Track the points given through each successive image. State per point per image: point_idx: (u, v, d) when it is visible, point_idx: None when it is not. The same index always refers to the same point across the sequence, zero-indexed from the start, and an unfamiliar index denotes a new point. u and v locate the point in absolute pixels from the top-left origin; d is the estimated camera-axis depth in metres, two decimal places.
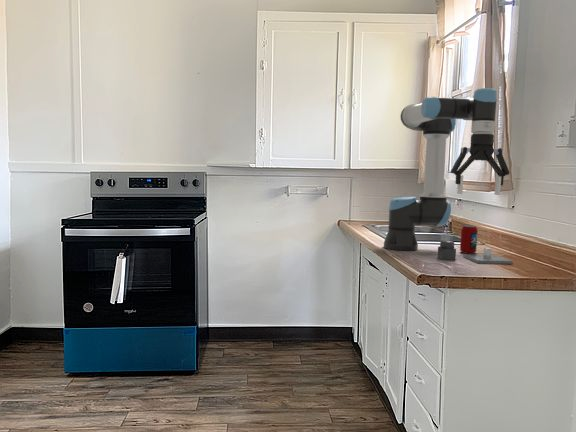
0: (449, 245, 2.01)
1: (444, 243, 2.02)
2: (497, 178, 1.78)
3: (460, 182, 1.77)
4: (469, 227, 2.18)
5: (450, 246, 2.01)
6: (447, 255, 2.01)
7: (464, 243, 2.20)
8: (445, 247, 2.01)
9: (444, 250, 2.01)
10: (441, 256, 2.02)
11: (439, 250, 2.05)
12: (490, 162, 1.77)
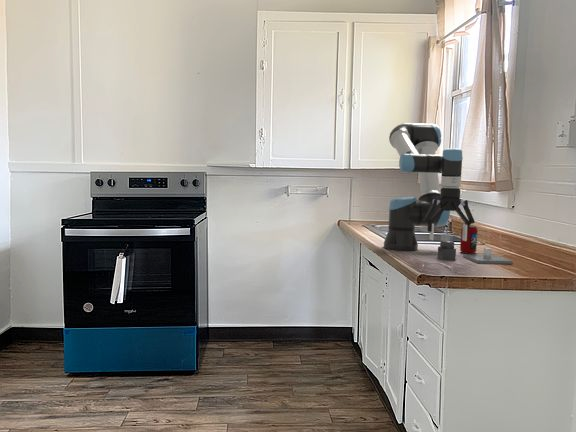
0: (449, 245, 2.01)
1: (444, 243, 2.02)
2: (464, 226, 2.03)
3: (431, 230, 2.01)
4: None
5: (450, 246, 2.01)
6: (447, 255, 2.01)
7: (464, 243, 2.20)
8: (445, 247, 2.01)
9: (444, 250, 2.01)
10: (441, 256, 2.02)
11: (439, 250, 2.05)
12: (457, 212, 2.02)
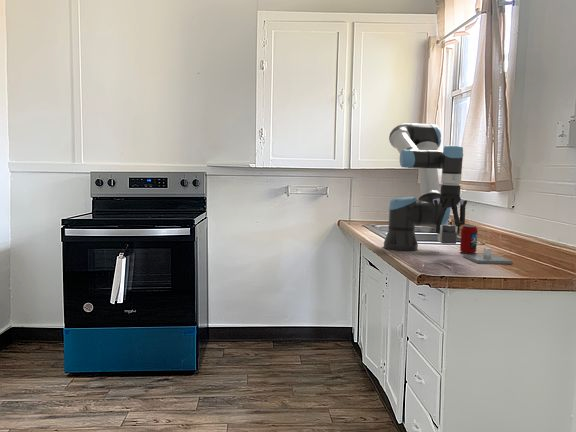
0: (450, 229, 2.01)
1: (445, 227, 2.01)
2: None
3: (440, 232, 2.03)
4: (469, 227, 2.18)
5: (451, 230, 2.01)
6: (447, 239, 2.01)
7: (464, 243, 2.20)
8: (446, 231, 2.01)
9: (445, 234, 2.01)
10: (442, 240, 2.02)
11: None
12: (453, 210, 2.03)
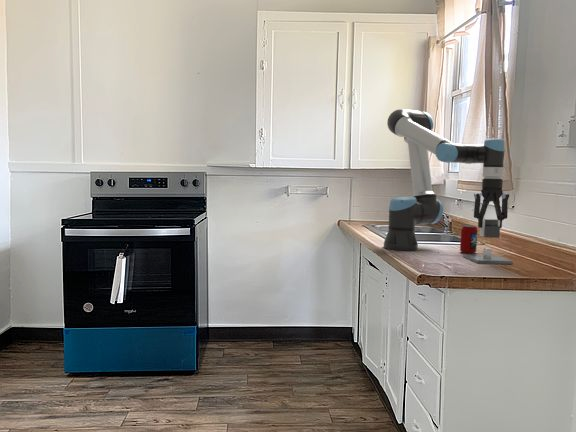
0: (493, 222, 1.98)
1: (488, 220, 1.99)
2: None
3: (482, 226, 2.00)
4: (469, 227, 2.18)
5: (494, 223, 1.99)
6: (490, 233, 1.99)
7: (464, 243, 2.20)
8: (489, 224, 1.99)
9: (488, 227, 1.99)
10: (485, 234, 2.00)
11: None
12: (495, 204, 2.01)
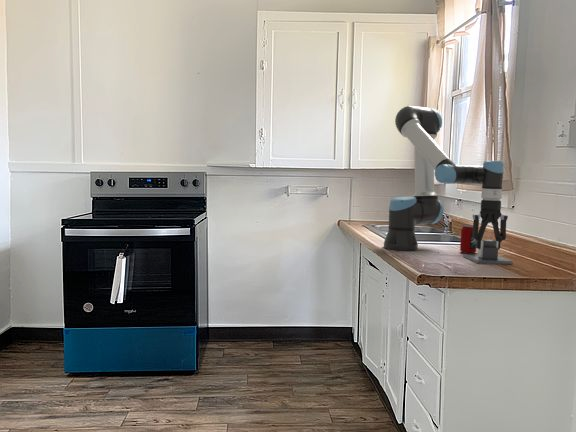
0: (491, 244, 1.99)
1: (486, 242, 2.00)
2: None
3: (480, 247, 2.01)
4: (469, 227, 2.18)
5: (492, 245, 1.99)
6: (489, 254, 2.00)
7: (464, 243, 2.20)
8: (487, 246, 2.00)
9: (486, 249, 1.99)
10: (483, 255, 2.01)
11: None
12: (494, 225, 2.02)
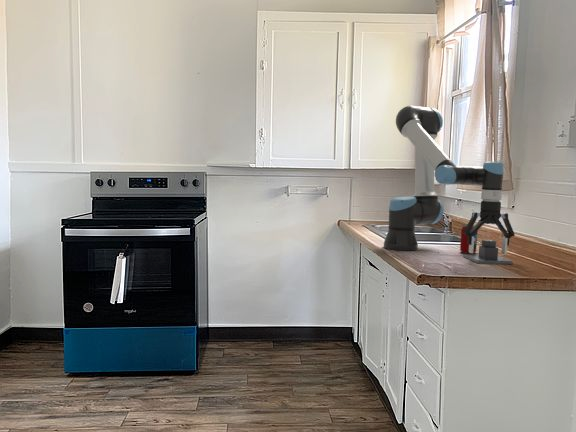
0: (491, 244, 1.99)
1: (486, 242, 2.00)
2: (504, 239, 2.03)
3: (471, 243, 2.01)
4: None
5: (492, 245, 1.99)
6: (489, 254, 2.00)
7: (464, 243, 2.20)
8: (487, 246, 2.00)
9: (486, 249, 1.99)
10: (483, 255, 2.01)
11: (480, 249, 2.03)
12: (498, 225, 2.02)
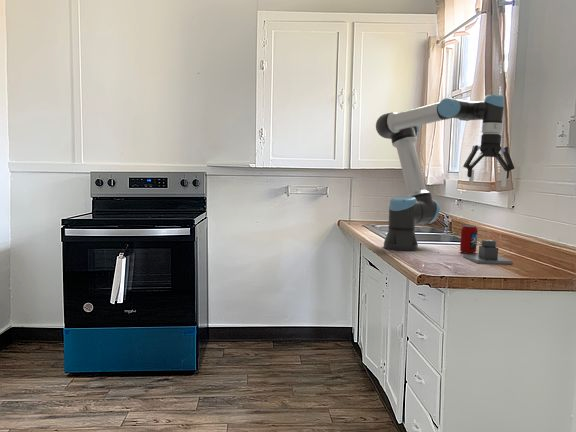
0: (491, 244, 1.99)
1: (486, 242, 2.00)
2: (503, 172, 2.07)
3: (471, 175, 2.06)
4: (469, 227, 2.18)
5: (492, 245, 1.99)
6: (489, 254, 2.00)
7: (464, 243, 2.20)
8: (487, 246, 2.00)
9: (486, 249, 1.99)
10: (483, 255, 2.01)
11: (480, 249, 2.03)
12: (497, 158, 2.06)
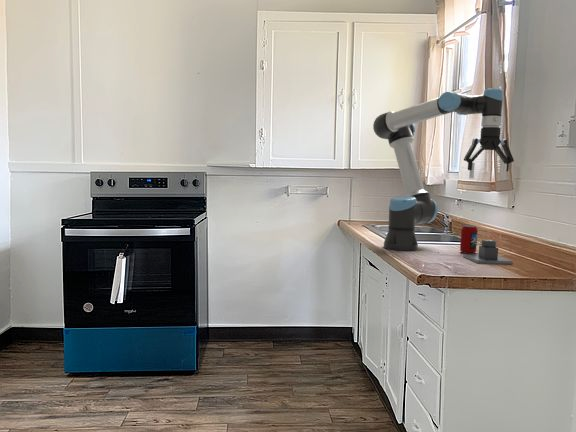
0: (491, 244, 1.99)
1: (486, 242, 2.00)
2: (503, 165, 2.09)
3: (472, 168, 2.07)
4: (469, 227, 2.18)
5: (492, 245, 1.99)
6: (489, 254, 2.00)
7: (464, 243, 2.20)
8: (487, 246, 2.00)
9: (486, 249, 1.99)
10: (483, 255, 2.01)
11: (480, 249, 2.03)
12: (497, 151, 2.08)
